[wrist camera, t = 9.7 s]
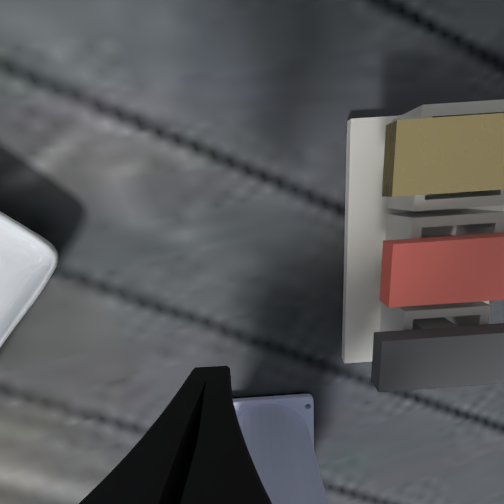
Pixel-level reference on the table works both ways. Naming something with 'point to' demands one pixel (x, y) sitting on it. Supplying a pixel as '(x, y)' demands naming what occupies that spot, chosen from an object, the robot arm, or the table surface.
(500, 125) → the brass plug
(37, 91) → the table surface
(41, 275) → the salad plate
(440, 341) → the grey rectangular block
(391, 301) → the red plug
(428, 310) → the panel
